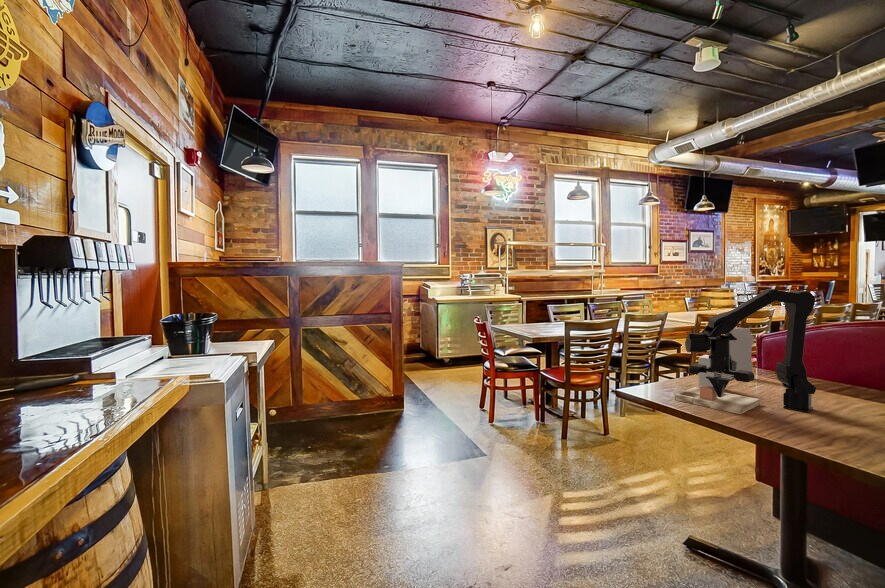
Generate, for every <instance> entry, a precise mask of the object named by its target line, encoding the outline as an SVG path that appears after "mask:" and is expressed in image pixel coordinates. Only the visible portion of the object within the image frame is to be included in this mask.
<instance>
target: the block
mask: <svg viewBox="0 0 885 588" xmlns="http://www.w3.org/2000/svg"><path fill="white" fill-rule="evenodd" d="M700 398H702V399H707V400H714V399H717V393H716V391H715V389H714V387H713V386H708V385H703V386H701V387H700Z"/></svg>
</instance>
